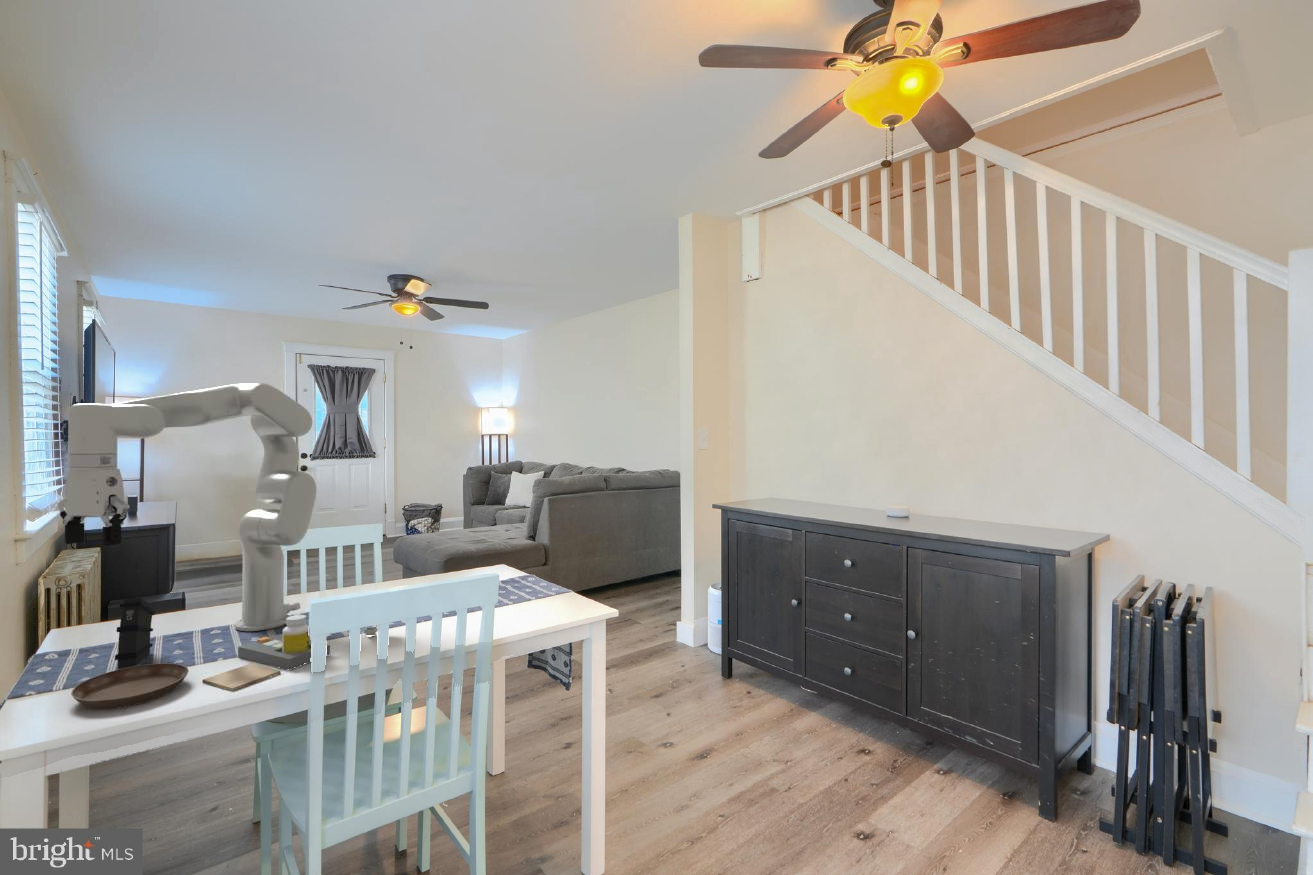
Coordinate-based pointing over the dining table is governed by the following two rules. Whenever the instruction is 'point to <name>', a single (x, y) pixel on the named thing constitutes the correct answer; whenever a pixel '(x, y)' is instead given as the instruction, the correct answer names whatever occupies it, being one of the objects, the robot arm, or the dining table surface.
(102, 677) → the plant saucer
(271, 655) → the grey panel with buttons
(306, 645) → the supplement bottle
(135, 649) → the magazine
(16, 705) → the dining table surface
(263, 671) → the cork mat
